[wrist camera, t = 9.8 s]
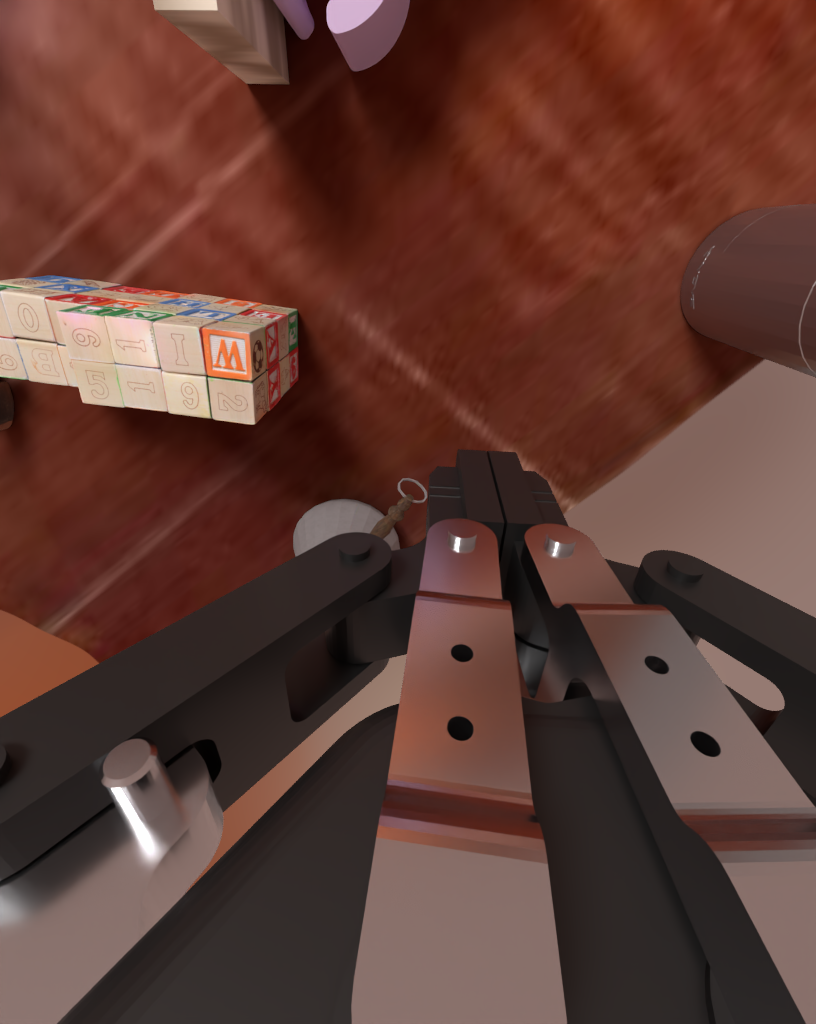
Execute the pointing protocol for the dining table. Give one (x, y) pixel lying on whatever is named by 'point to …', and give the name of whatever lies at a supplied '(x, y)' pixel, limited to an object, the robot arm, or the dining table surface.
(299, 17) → the clip
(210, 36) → the board
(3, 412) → the pottery mug
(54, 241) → the dining table surface
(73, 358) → the stack of blocks
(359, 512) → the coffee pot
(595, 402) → the dining table surface
